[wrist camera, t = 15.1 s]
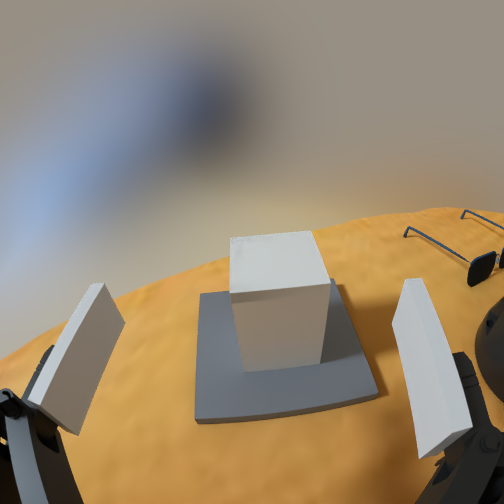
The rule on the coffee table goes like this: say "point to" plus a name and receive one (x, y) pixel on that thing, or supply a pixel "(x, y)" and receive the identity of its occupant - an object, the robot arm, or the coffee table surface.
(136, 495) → the coffee table surface
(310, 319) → the white rectangular box
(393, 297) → the coffee table surface
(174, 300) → the coffee table surface
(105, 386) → the coffee table surface
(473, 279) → the sunglasses
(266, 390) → the post dock
